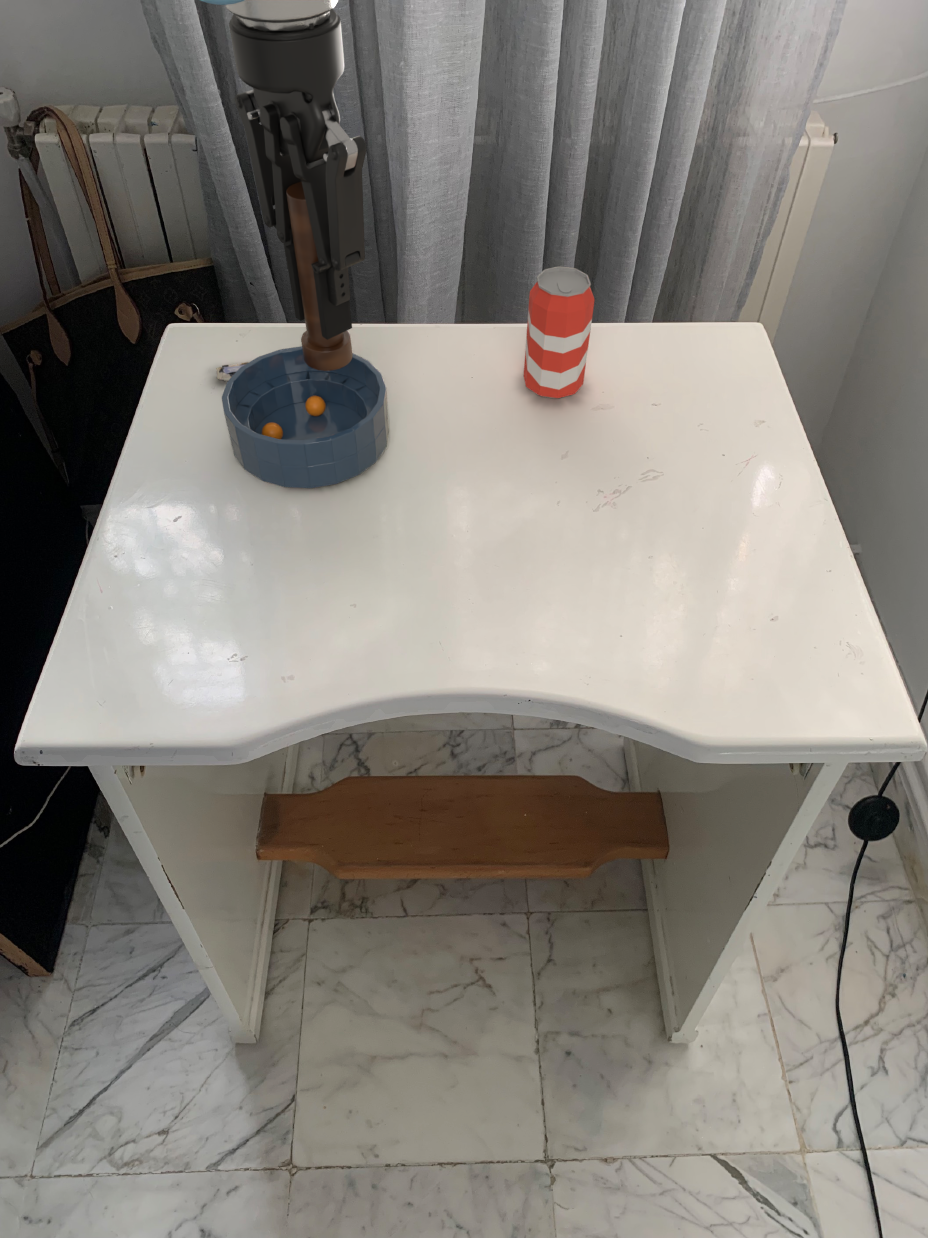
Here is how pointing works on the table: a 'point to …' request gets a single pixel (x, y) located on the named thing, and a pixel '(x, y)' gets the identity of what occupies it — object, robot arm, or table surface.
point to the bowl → (306, 419)
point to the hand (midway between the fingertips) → (323, 322)
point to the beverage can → (558, 332)
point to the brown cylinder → (313, 292)
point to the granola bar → (228, 370)
